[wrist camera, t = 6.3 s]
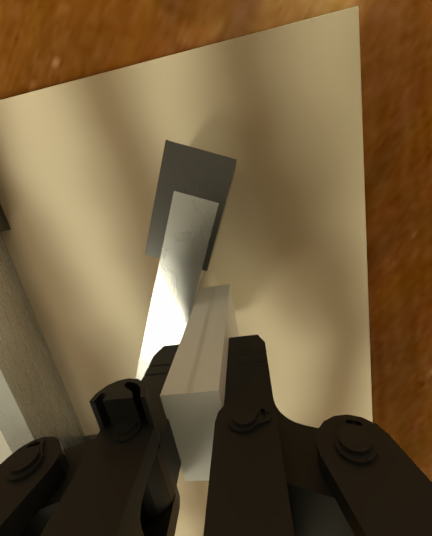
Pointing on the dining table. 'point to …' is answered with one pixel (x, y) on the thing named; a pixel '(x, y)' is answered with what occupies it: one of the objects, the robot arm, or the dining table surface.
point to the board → (233, 222)
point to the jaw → (182, 238)
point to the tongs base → (29, 369)
